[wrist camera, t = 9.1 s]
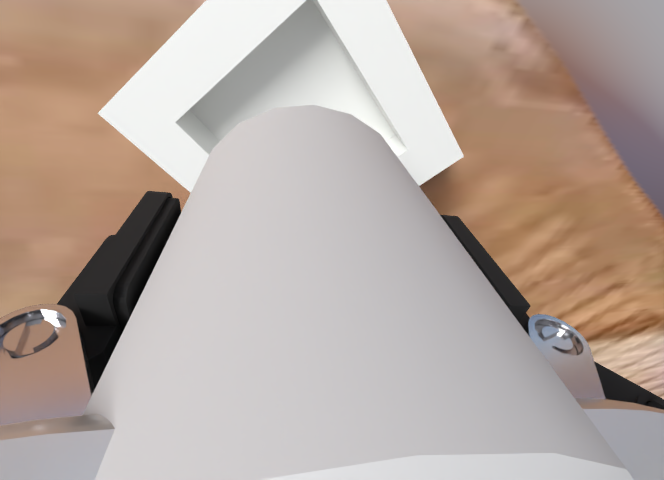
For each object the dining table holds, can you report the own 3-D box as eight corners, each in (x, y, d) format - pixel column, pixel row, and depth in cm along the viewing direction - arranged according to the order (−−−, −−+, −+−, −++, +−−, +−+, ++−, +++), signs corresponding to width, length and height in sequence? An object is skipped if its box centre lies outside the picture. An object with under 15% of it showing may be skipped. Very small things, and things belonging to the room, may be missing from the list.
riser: (430, 128, 26) (463, 156, 21) (285, 230, 30) (285, 274, 25) (314, -89, 18) (325, -123, 13) (139, 89, 22) (97, 113, 17)
